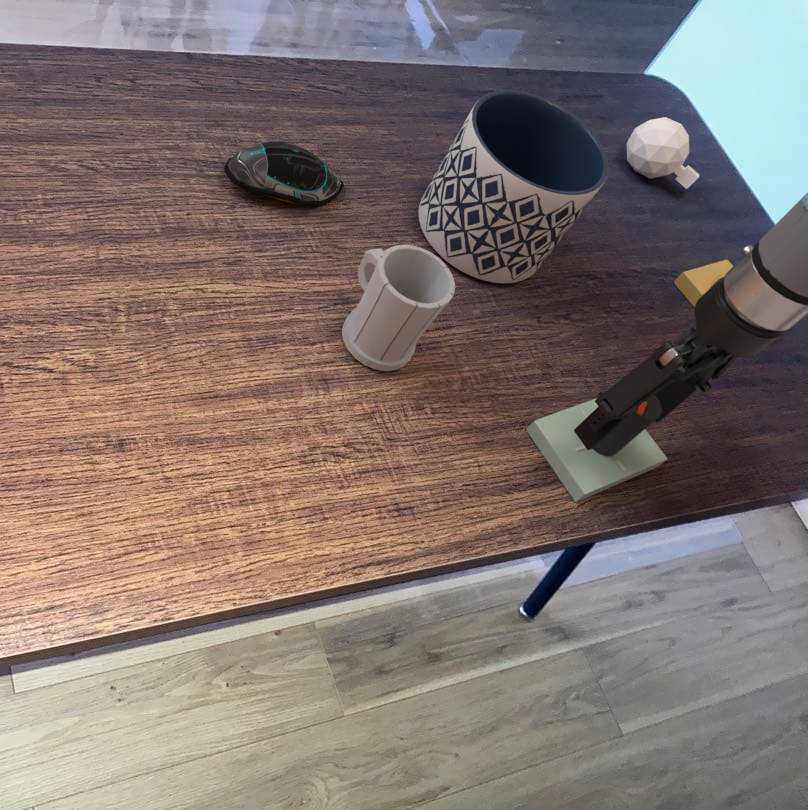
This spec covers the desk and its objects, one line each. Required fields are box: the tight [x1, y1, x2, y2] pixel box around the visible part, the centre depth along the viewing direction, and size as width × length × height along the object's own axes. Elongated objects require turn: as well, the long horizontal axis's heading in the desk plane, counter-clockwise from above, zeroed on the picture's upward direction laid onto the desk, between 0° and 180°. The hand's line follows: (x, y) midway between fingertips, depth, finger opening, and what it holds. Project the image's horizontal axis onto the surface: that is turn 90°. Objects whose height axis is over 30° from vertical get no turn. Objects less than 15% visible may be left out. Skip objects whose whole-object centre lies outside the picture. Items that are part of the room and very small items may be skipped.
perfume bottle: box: [626, 116, 700, 190], centre depth 138 cm, size 9×9×12 cm
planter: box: [417, 89, 609, 284], centre depth 115 cm, size 18×18×16 cm
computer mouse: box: [223, 141, 345, 209], centre depth 114 cm, size 9×17×6 cm, turn 103°
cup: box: [341, 244, 456, 372], centre depth 101 cm, size 10×9×12 cm
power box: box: [673, 259, 734, 309], centre depth 126 cm, size 12×10×4 cm
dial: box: [593, 395, 662, 456], centre depth 101 cm, size 4×4×8 cm
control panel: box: [525, 397, 668, 503], centre depth 105 cm, size 14×10×2 cm
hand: (617, 425), depth 102 cm, fingers open, 11 cm apart
